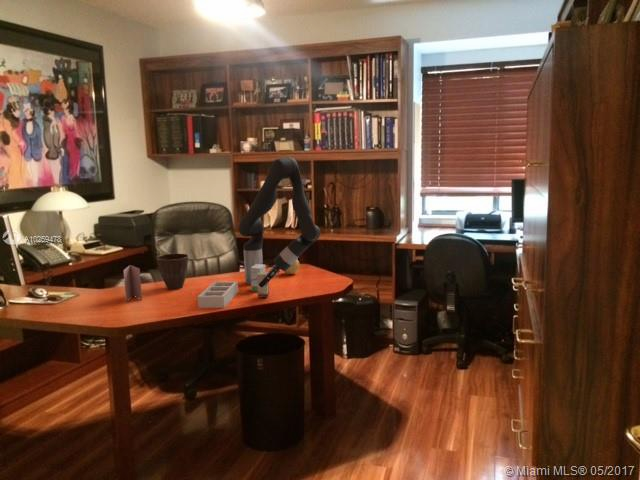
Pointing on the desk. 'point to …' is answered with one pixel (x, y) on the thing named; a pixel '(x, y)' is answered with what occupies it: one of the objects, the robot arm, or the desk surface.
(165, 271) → the plant pot
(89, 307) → the desk surface
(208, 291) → the grey compartment tray
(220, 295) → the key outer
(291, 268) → the stress ball
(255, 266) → the ink box
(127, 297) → the greeting card
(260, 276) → the tall wooden block
